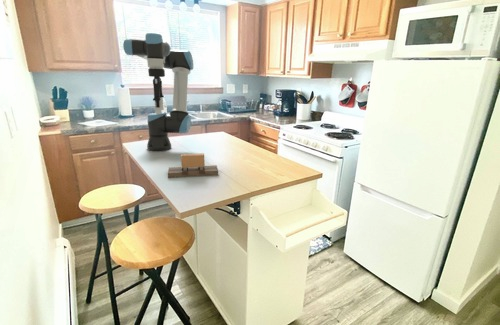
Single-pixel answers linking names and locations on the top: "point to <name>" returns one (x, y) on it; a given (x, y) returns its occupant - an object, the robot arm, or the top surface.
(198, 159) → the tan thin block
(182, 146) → the top surface
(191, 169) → the rail
